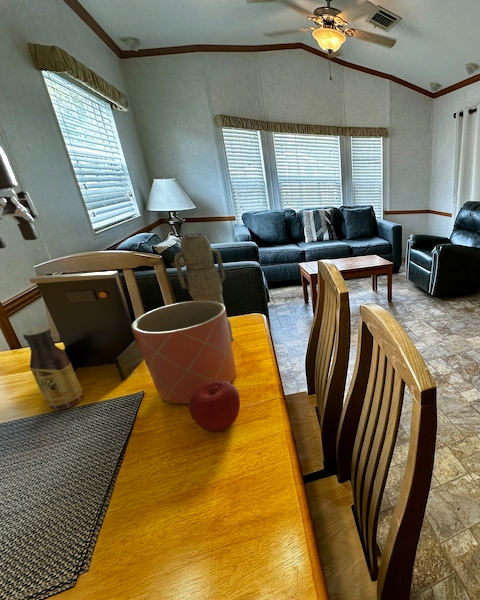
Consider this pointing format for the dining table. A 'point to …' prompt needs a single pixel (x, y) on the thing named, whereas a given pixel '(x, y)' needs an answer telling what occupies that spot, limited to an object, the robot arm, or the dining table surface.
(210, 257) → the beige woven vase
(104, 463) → the dining table surface
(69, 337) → the dispenser
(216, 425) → the apple
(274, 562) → the dining table surface
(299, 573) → the dining table surface
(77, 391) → the sauce bottle
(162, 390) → the planter
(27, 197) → the robot arm
